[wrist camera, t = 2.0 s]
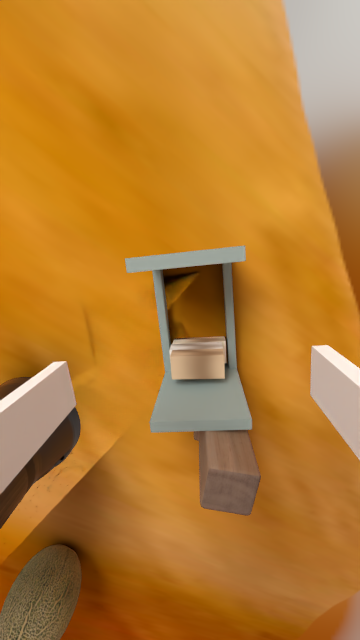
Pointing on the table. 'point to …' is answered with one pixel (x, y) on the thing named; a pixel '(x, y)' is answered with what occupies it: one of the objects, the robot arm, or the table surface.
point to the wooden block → (227, 471)
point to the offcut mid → (196, 346)
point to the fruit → (42, 596)
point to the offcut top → (197, 364)
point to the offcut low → (202, 340)
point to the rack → (197, 394)
